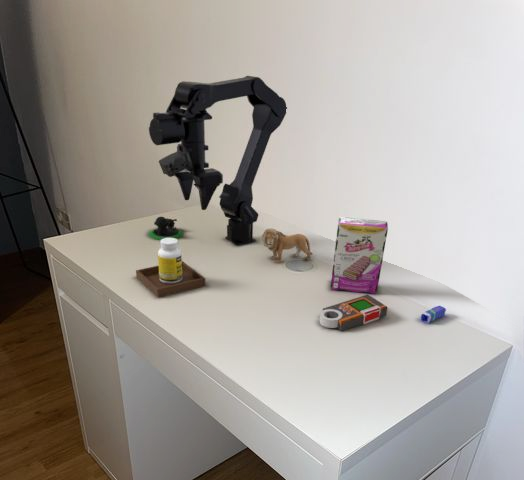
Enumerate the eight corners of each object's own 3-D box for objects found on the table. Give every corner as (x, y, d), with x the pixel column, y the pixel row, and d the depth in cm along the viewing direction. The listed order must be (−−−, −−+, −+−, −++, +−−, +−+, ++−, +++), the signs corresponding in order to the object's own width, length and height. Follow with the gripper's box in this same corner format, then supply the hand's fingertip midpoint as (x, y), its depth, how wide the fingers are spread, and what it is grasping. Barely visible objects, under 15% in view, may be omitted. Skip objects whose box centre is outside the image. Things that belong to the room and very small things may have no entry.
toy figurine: (188, 229, 160) (187, 210, 156) (176, 241, 151) (175, 221, 148) (156, 226, 161) (155, 207, 158) (142, 237, 153) (140, 217, 150)
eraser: (419, 320, 117) (421, 312, 116) (437, 313, 120) (439, 304, 119) (427, 324, 115) (428, 315, 114) (444, 316, 119) (446, 308, 118)
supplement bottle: (180, 285, 127) (178, 245, 121) (157, 284, 127) (154, 244, 122) (184, 275, 131) (182, 236, 126) (162, 274, 131) (159, 235, 126)
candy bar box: (329, 290, 128) (337, 223, 119) (330, 281, 132) (337, 216, 123) (377, 295, 127) (388, 227, 118) (377, 286, 131) (387, 220, 122)
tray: (182, 267, 136) (181, 260, 135) (205, 285, 128) (205, 278, 127) (136, 277, 130) (135, 270, 129) (157, 297, 122) (157, 289, 121)
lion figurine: (266, 266, 138) (267, 233, 134) (258, 259, 143) (259, 226, 138) (316, 259, 144) (319, 226, 139) (307, 252, 148) (310, 220, 143)
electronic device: (313, 310, 114) (369, 292, 120) (312, 322, 116) (367, 304, 122) (332, 324, 109) (389, 305, 115) (331, 336, 111) (387, 317, 117)
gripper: (145, 136, 132) (150, 199, 141) (180, 151, 119) (183, 220, 128) (186, 132, 138) (189, 193, 146) (223, 146, 125) (224, 213, 133)
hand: (195, 204), depth 138 cm, fingers open, 9 cm apart
